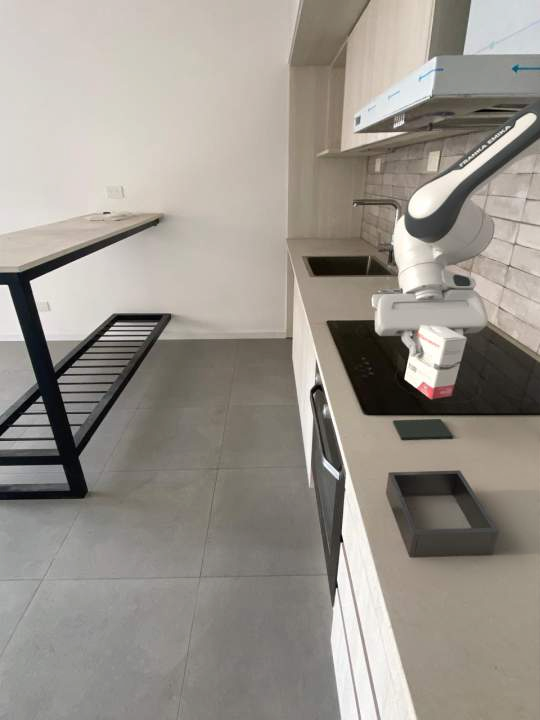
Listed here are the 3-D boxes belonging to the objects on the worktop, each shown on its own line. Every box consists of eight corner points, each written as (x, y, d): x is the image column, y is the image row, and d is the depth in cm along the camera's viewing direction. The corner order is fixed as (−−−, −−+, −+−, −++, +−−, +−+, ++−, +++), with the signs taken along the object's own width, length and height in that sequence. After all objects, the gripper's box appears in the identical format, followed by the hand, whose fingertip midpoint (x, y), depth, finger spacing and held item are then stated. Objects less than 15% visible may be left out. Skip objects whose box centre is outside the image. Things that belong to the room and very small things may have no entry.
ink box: (454, 396, 72) (468, 336, 67) (431, 400, 71) (444, 339, 66) (424, 375, 80) (435, 319, 75) (402, 378, 79) (412, 322, 73)
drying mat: (440, 421, 83) (440, 418, 83) (452, 438, 77) (452, 436, 77) (392, 422, 83) (392, 420, 83) (401, 440, 77) (401, 437, 77)
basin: (455, 491, 65) (460, 470, 63) (492, 555, 54) (499, 531, 52) (385, 493, 65) (388, 472, 63) (409, 557, 54) (413, 533, 52)
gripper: (374, 281, 74) (383, 350, 69) (483, 278, 74) (499, 347, 69) (366, 297, 80) (374, 362, 75) (468, 294, 80) (482, 359, 75)
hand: (435, 355), depth 72 cm, fingers closed on ink box, 6 cm apart
